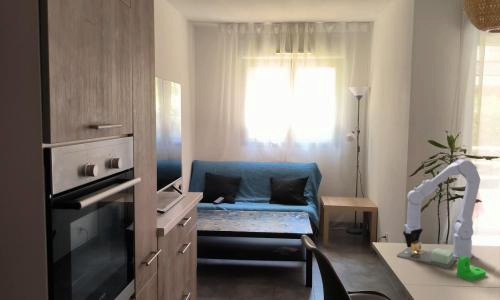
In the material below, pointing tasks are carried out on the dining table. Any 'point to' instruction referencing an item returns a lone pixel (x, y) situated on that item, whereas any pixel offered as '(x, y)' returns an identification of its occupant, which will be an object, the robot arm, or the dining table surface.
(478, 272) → the mechanical part
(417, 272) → the dining table surface
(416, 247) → the t key
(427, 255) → the latch plate
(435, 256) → the cover
